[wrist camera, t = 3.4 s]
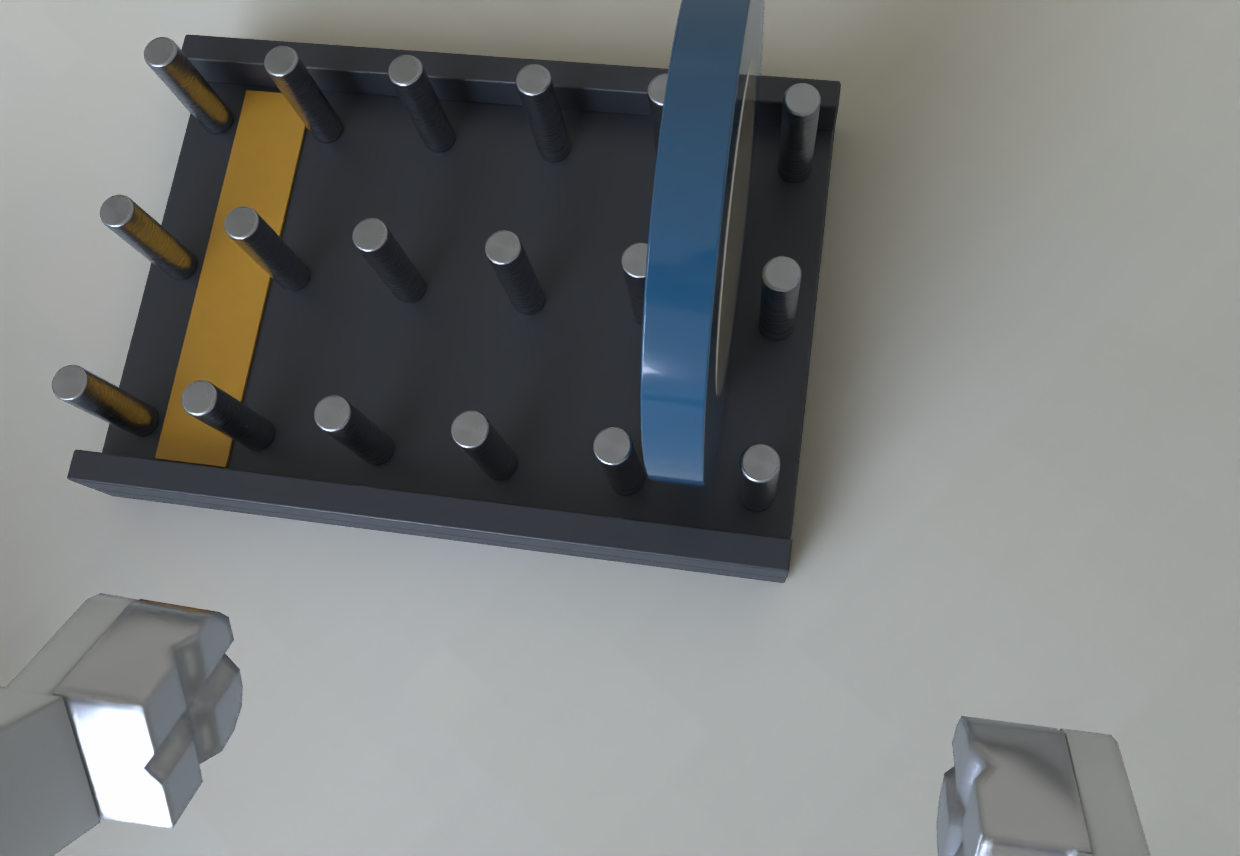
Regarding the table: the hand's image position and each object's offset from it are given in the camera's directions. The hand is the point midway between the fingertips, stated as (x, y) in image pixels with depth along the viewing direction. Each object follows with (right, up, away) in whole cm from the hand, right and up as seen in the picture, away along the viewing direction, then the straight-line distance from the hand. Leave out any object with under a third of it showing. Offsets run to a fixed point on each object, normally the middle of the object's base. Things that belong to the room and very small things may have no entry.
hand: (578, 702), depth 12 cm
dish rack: (-4, +6, +19) cm, 20 cm away
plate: (+3, +6, +17) cm, 18 cm away
